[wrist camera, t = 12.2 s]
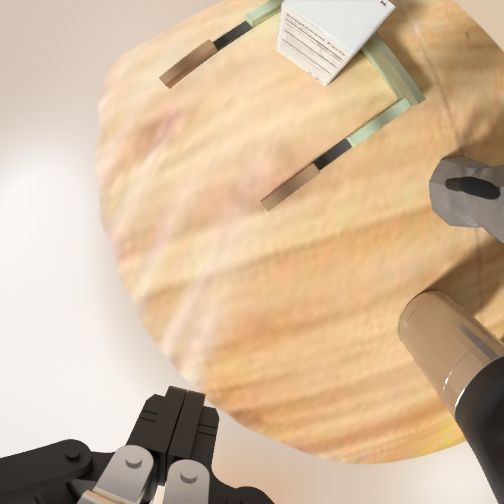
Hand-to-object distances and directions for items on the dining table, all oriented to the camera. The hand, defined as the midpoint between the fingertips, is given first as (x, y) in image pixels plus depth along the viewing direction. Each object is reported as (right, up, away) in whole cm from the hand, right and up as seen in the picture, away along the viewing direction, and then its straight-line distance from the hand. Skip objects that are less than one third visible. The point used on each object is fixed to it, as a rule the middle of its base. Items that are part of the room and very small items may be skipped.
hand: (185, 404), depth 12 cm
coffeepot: (+28, +14, +23) cm, 39 cm away
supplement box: (+10, +30, +20) cm, 37 cm away
